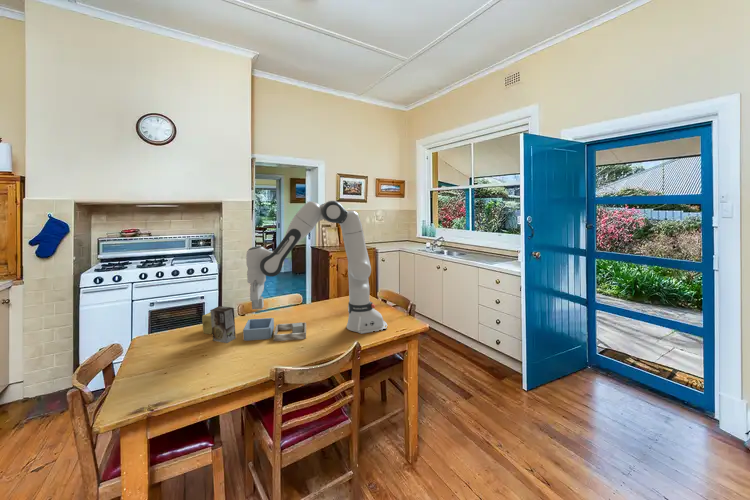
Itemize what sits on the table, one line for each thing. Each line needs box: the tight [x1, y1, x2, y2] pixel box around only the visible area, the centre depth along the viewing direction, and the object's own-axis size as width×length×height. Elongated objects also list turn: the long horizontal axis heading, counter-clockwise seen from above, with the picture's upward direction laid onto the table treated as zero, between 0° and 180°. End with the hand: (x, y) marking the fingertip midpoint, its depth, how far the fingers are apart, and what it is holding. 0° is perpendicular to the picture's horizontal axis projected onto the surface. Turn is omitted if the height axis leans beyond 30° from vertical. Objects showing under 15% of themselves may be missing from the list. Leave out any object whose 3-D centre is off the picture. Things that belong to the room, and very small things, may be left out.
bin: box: [242, 317, 275, 341], centre depth 167 cm, size 13×15×6 cm
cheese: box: [201, 312, 213, 335], centre depth 170 cm, size 10×11×10 cm
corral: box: [273, 322, 307, 342], centre depth 167 cm, size 16×15×3 cm
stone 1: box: [251, 295, 265, 310], centre depth 165 cm, size 5×5×5 cm
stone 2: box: [291, 322, 304, 333], centre depth 167 cm, size 5×5×5 cm
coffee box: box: [209, 305, 237, 344], centre depth 159 cm, size 9×6×16 cm
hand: (258, 304), depth 165 cm, fingers closed on stone 1, 5 cm apart
